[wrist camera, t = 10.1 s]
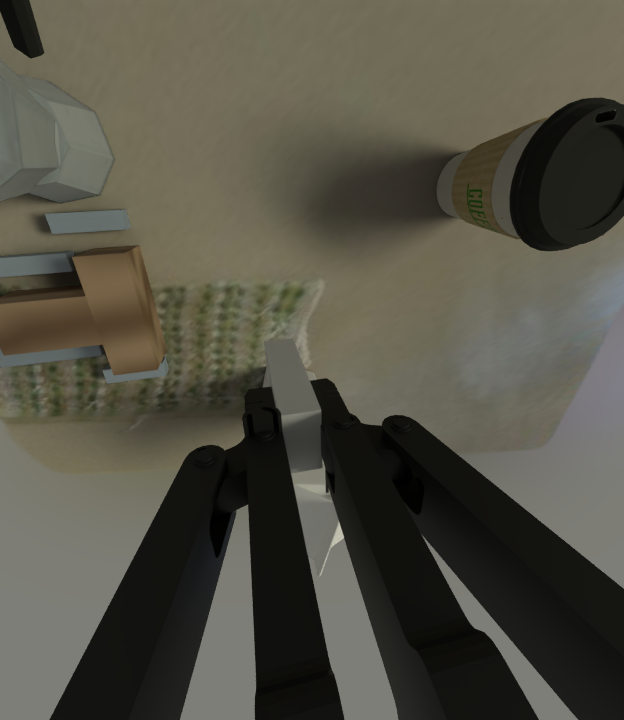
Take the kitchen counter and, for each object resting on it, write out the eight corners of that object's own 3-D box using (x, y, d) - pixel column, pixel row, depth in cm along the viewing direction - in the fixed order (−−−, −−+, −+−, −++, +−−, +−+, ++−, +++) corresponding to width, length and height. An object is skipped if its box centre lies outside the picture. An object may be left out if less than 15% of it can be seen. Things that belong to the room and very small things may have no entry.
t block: (-2, 255, 30) (-42, 265, 26) (139, 245, 32) (124, 253, 28) (46, 363, 35) (20, 387, 31) (166, 349, 37) (157, 369, 33)
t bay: (-66, 219, 28) (-82, 220, 27) (126, 209, 31) (120, 209, 29) (19, 388, 36) (10, 396, 34) (168, 369, 38) (166, 375, 37)
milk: (313, 370, 42) (383, 518, 23) (302, 411, 45) (358, 576, 25) (265, 365, 40) (296, 520, 21) (257, 407, 43) (278, 582, 23)
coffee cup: (422, 243, 38) (523, 269, 25) (418, 142, 33) (538, 107, 20) (501, 223, 39) (639, 237, 26) (507, 121, 34) (679, 75, 21)
